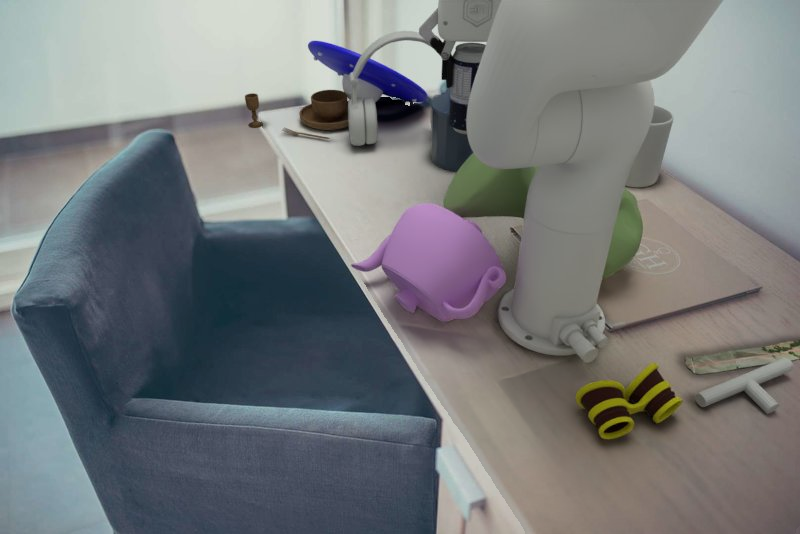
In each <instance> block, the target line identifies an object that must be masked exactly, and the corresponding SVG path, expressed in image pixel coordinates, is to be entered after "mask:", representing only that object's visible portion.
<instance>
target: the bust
mask: <svg viewBox="0 0 800 534" xmlns="http://www.w3.org/2000/svg"><path fill="white" fill-rule="evenodd" d="M538 167H539V166H534V167H526V168H517V169H496V168H492V167H490V166H487V165H485V164H484V163H483V162H481V161H480V160H479V159H478V158H477V157H476V155H475V154H474V152H473V153H472V154H471V156H470V157H469V158H468V159H467V160H466V161H465V162H464V163H463V165H462V166H461V167H460V168H459V170H458V171H457V172H455V174H454V176H453V177H452V179H451V181H450V183H449V185H448V187H447V190H446V192H445V195H444V197H443V202H442V207H443V208H445V209H447V210H449V211H451V212H453V213H455V214H456V215H458V216H460V217H461V218H463V219H464V218H465V219H474V218H475V219H477V218H487V217H488V218H489V217H490V218H491V217H495V218H496V217H503V218H504V217H506V218H507V217H508V218H509V217H511V218H521V219H523V220H524V213H525V206H526V200H527V194H528V189H529V186H530V183H531V181H532V178H533V176H534V174H535V172H536V170H537V169H538ZM643 222H644V221H643V218H642V214H641V211H640V210H639V206H638V200H637V198H636V196H635V195H634V194H633V193H632V192H631V191H629V190H628V189H627V188H626V187H625V188H624V191H623V195H622V199H621V203H620V206H619V211H618V215H617V219H616V222H615V226H614V230H613V234H612V239H611V243H610V247H609V251H608V256H607V260H606V264H605V268H604V273H603V277H602V280H604V279H606V278H608V277H610V276H612V275H614V274H616V273H617V272H619V271H621V270H622V269H624V268H625V267H626V266H628V264H629V263H630V262H631V261H632V260H633V259H634V257H636V255H637V253H638V251H639V250H640V246H641V242H642V238H643V233H644V224H643Z"/></svg>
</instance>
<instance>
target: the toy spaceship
mask: <svg viewBox="0 0 800 534" xmlns="http://www.w3.org/2000/svg"><path fill="white" fill-rule="evenodd" d="M307 48H308V50H309V52H310V53H311V54H312V56H313V61H318V62H320V63H321V64H322V65H323V66H325V67H327V68H328V69H330V70H332V71H333V72H335V73H337V74H336V75H338V76H339V77H340V76H342V83H341V84H342V91H343V92H345V93H346V94H347V100H348V101H349V100H350V98H352V85H351V82H350V76H349V75H350V73H351V72H353V71H354V68H355V66H356V64H357V62H358V60H359V58H360V57H361V55H362V53H358V52H356V51H353V50H351V49H348V48H345V47H343V46H340V45H336V44H333V43H331V42H330V43H329V42H327V41H321V40H311V41H309V42H308V44H307ZM357 81H358V84H357V85H356V92H357V97H358V98H362V100H363V99H365V98H372V99H374V101H375V103H376V102H378V101H379V100H380V98H381V97H382V96H383V95H384V96H387V97H389V98H392V99H396V98H400V99H402V100H401V101H402V103H404V104H405V103H423V102H426V101H427V99H428V93H427V91H426V90H425V89H424V88H423V87H422V86H420V85H419V84H418V83H416V82H414V81H413V80H411V79H410V78H408V77H407V76H406V75H403V74H401V72H398V71H397V70H395V69H393V68H391V67H389V66H387V65H385V64H382V63H381V62H378V61H377V60H374V59H372V58H370V59H369V60H368V61H367V63H366V64H365V66H364V68H363V69H362V71H361V73H360V74H359V76H358V77H357ZM393 97H396V98H393ZM396 100H399V99H396ZM403 100H404V101H403ZM399 101H400V100H399Z"/></svg>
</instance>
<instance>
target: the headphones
mask: <svg viewBox="0 0 800 534" xmlns="http://www.w3.org/2000/svg"><path fill="white" fill-rule="evenodd" d="M402 41H403V42H404V41H410V42H411V41H412V42H419V43H422V44H425V45H427V46H429V47H430V48H432V47H431V45H430V44H429V43H428V42H427V41H426V40H425V39H424V38H423V37H422V36H421V35H420V34H419V31H414V30H400V31H398V30H397V31H393V32H390V33H387V34H385V35H383V36H380V37H379V38H377V39H376V40H374V41H373V42H372V43H370V44H369V46H368V47H366V48H365V50H364V51H363V52H362V53H361V57H360V58H359V60H358V62H357V64H356V66H355V68H354V71H353V72H351V73H350V75H349V76H350V82H351V85H352V98H350V100H349V99H348V100H347V101H348V121H349V126H348V132H349V140H350V141H349V142H350V144H351V145H353V146H355V147H359V146H361V147H362V146H364V145H365V144H367V145H373V144H376V143H377V140H378V114H377V105H376V102H375V101H374V99H372V98H365V99H363V100H362V98H358V97H357V92H356V85H357V84H358V81H357V77H358V76H359V74H360V73H361V71H362V69H363V68H364V66H365V64H366V63H367V61H368V60H369V59H371V57H372V56H373V55H374V54H375V53H376V52H378V51H379V50H381V49H382V48H383V47H385V46H387V45H389V44H392V43H397V42H402ZM449 89H450V90H449V92H450V91H451V87H450V88H449ZM438 95H439V94H436V95H434V96H432V98H431V100H430V101H431V102H432V100H433V99H434V98H435V97H437V96H438ZM431 102H430V103H431ZM432 110H433V109H432V108H431V107H430V110H429V111H430V113H429V114H430V115H429V117H430V118H429V119H430V128H431V130H432Z"/></svg>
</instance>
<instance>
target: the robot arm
mask: <svg viewBox="0 0 800 534" xmlns="http://www.w3.org/2000/svg"><path fill="white" fill-rule="evenodd" d="M723 2H724V0H438V4H437V8H436V9H435V10H434V11H433V13H431V15H429V17H428V18H426V20H425V21H423V23H422V24H421V25H420V26H419V28H418V33H419V34H420V35H421V36H422V37H423V38H424V39H425V40H426V41H427V42H428V43H429V44H430V45H431V47H430V48H432V49H433V50H434V51H435V52H436V53H437V54H438V55H439V56H440V58H441V81H445V87H446V89H450V87H452V71H453V59H452V56H453V54H452V52H453V49H454V47H455V45H456V43H457V42H458V43H485V45H486V46H485V49H484V52H483V55H482V58H481V61H480V64H479V67H478V70H477V73H476V76H475V79H474V83H473V86H472V89H471V93H470V97H469V102H468V108H467V117H466V128H467V136H468V140H469V144H470V147H471V149H472V151H473V152H474V154H475V155H476V157H477V158H478V159H479V160H480V161H481V162H483V163H484V164H485V165H487V166H490V167H492V168H496V169H517V168H526V167H534V166H539V167H538V169H537V170H536V172H535V174H534V176H533V178H532V181H531V183H530V186H529V189H528V194H527V200H526V206H525V213H524V219H523V221H522V228H521V236H520V244H519V249H518V250H519V251H518V258H517V267H516V274H515V280H514V287H512V288H511V289H510V290H509V291H507V292H506V293H505V294H504V295H503V296H502V298H501V299H500V301H499V303H498V311H497V320H498V323H499V325H500V327H501V329H502V330H503V332H504V333H505V334H506V335H507V336H508V337H509V338H510V339H511V340H513V342H515V343H516V344H518V345H520V346H522V347H523V348H525V349H526V350H527V349H528V350H531V351H533V352H536V353H539V354H544V355H549V356H573V355H577V356H578V357H579V358H580V360H582V362H583V363H585V364H587V363H591V362H593V361H594V360H595V359H596V358H597V357H598V355H599V350H598V349H597V348H596V347H595V346H597V347H598V348H601V349H602V348H605V347H606V346H608V344H609V342H610V340H609V338H608V337H607V336H606V335H605V334H604V332H605V329H606V318H605V314H604V312H603V310H602V307H600V305H599V304H598V303H597V302H598V297H599V293H600V289H601V284H602V280H603V279H602V277H603V273H604V268H605V264H606V260H607V256H608V251H609V247H610V243H611V239H612V234H613V230H614V226H615V222H616V219H617V215H618V211H619V206H620V203H621V199H622V195H623V191H624V188H626V186H625V184H626V181H627V178H628V175H629V173H630V170H631V167H632V165H633V163H634V161H635V158H636V156H637V154H638V152H639V150H640V148H641V146H642V144H643V142H644V140H645V137H646V135H647V133H648V130H649V127H650V124H651V121H652V117H653V112H654V105H655V92H654V88H653V85H652V82H651V81H652V80H656V79H658V78H660V77H662V76H665V74H667V73H669V72H670V71H671V70H672V68H674V67H675V66H676V65H677V63H678V62H679V61H680V60H681V59H682V58H683V57H684V55H685V54H686V53H687V51H688V50H689V49H690V47H691V46H692V44H693V43H694V42H695V40H696V39H697V38H698V36H699V35H700V34H701V32H702V31H703V30H704V28H705V27H706V25H707V24H708V22H709V21H710V19H711V18H712V17H713V16H714V14H715V13H716V11H717V10H718V8H720V6H721V4H722V3H723ZM436 26H437V33H438V36H437V35H436V34H435V33H434V32H433V30H434V28H435V27H436ZM441 39H442V40H443V41H442V40H441Z"/></svg>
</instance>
